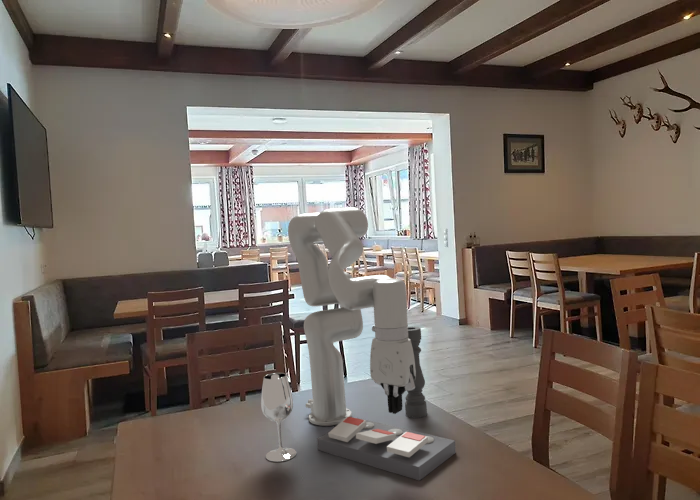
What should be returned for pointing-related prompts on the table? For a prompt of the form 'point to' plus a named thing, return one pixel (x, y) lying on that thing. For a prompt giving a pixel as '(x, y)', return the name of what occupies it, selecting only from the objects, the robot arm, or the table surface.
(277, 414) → the wineglass
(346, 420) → the rocker
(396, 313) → the robot arm
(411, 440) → the rocker
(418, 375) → the candle holder
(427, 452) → the power strip
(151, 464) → the table surface
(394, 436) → the rocker
